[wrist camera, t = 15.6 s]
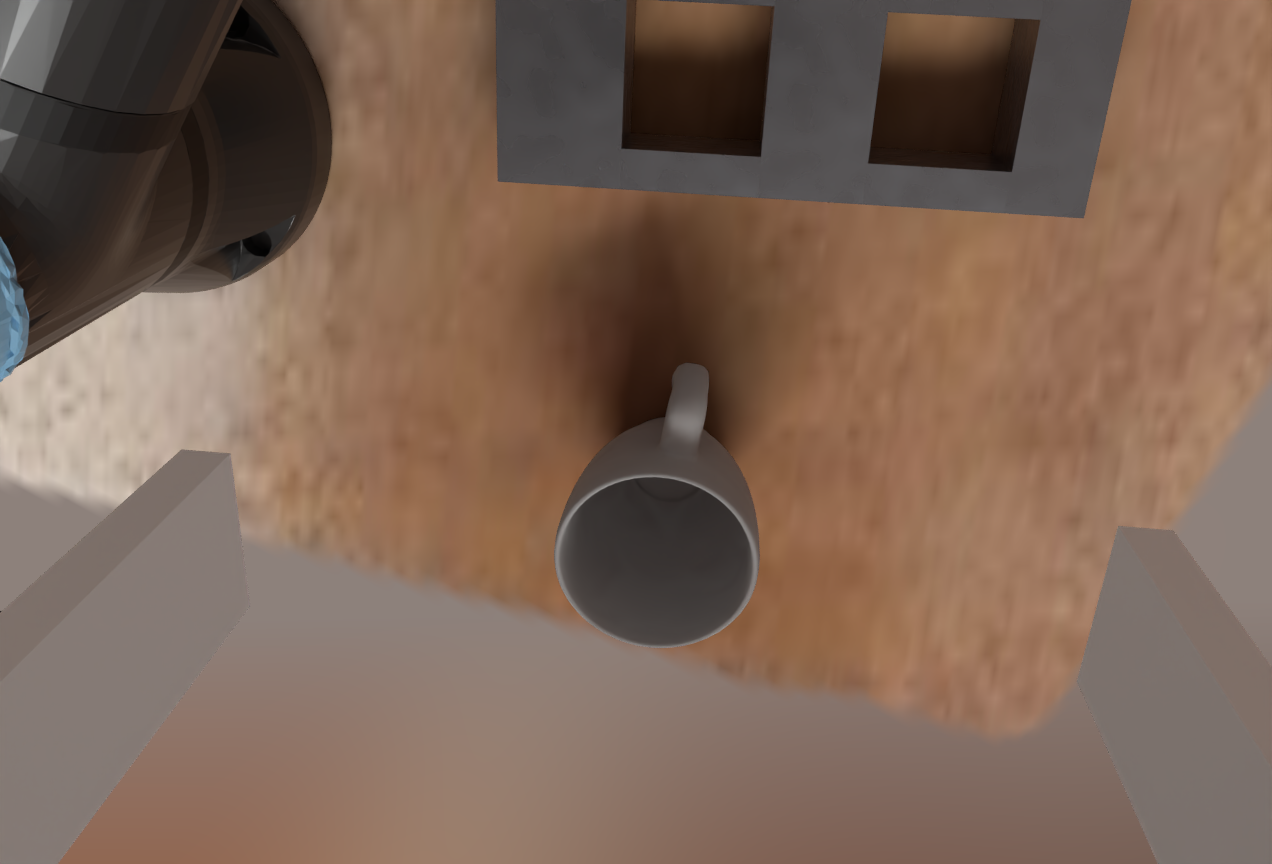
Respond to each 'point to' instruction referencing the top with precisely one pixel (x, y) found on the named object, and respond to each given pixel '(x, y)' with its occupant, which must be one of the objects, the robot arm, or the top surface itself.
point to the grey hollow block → (809, 108)
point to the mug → (661, 529)
